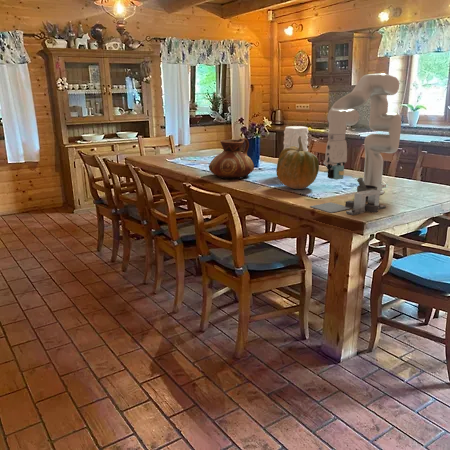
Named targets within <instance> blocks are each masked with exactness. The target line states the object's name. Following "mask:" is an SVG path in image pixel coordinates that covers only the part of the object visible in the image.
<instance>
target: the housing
mask: <svg viewBox="0 0 450 450" xmlns="http://www.w3.org/2000/svg"><path fill="white" fill-rule="evenodd" d="M380 195H381V194H380V191H379V190H374V189H372V190H366V191H361V192H357V191H356V192H354V197H353V198H354V199H353V201H354V209H349V210H345V214H346V213H347V215H350V216H356V215H359V214H364V212H365V213H366V211H365V204H366V202H367V204H370V205H375V206H378V210H382V209H385V208H386V205H383V204H380ZM366 196H368V201H366Z"/></svg>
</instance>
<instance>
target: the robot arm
mask: <svg viewBox="0 0 450 450" xmlns="http://www.w3.org/2000/svg"><path fill="white" fill-rule="evenodd" d="M399 89H400V81H399V79H398V78H397V77H396V76H393V75H390V74H387V73H369V74H364V75H363V76H361V77H360V79H359V80H358V81H357V83H356V85H355V86H354V88H353V89H352V91H351V92H349V93H347V94H345V95H343V96H342V97H340V98H338V99H337V100H336V101H334V103H333V105H332V106H331V107H330V109H329V110H328V113H327V122H328V136H327V139H328V141H327V142H326V147H325V154H324V155H325V156H324V161H323V162H322V163H323V165H324V166H325V168H326V169H327V178H328V179H330V178H333V177H334V170H333V167H334V165H342V166H344V167H345V164H346V163H347V162H348V145H347V144H348V142H347V140H346V130H347V126H349V127H350V126H354V125H356V124H357V123H358V122H359V120H360V114H359V111H358V110H357V109H355V108H359V107H361V106H364V105H365V104H366V103H367V101H368V100H369V101H370V110H369V111H370V113H369V120H368V121H369V122H368V124H369V129H370V130H371V131H373V132H384V133H385V134H384V133H371V134H368V135H367V136H366V137H365V138H364V142H363V143H364V166H363V167H364V169H363V182H364V184H365V185H372V186H376V187H377V190H379V191H380V195H382V194H384V193H385V191H384V190H383V188H386V187H387V183H382V180H383V173H384V171H383V170H384V169H383V168H384V157H383V156H382V154H381V153H383V154H384V153H385V154H395V153H396V152H397V151H398V149H399V146H400V140H401V131H402V117H401V115H400V114H398V113H396V112H389V111H388V107H389V101H388V99H387V97H386V96H394V95H396V94H397V93H398V91H399ZM387 132H388V134H386V133H387ZM330 165H331V166H330Z"/></svg>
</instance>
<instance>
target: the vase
mask: <svg viewBox="0 0 450 450" xmlns="http://www.w3.org/2000/svg"><path fill="white" fill-rule="evenodd" d="M309 132H310V131H309V127H308V126H300V125H298V126H297V125H293V126H292V125H291V126H289V125H288V126H285V128H284V130H283V134H284V135H283V142H282V143H283V149H282V150H284V149H285V148H288V147H291V146H295V147H297V148H299V143H298V138H299V136H301V142H302V146H303V150H304V151H308V152H309V148H308V145H309V141H308V139H309Z"/></svg>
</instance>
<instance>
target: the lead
mask: <svg viewBox="0 0 450 450" xmlns="http://www.w3.org/2000/svg"><path fill="white" fill-rule="evenodd" d="M344 206H347V207H351V208H352V210H354V200H346V201H345V205H344ZM365 212H367V213H368V212H369V213H372V212H373V214H375V213H377V212H379V209H378V206H375V205H370V204H368V203H365Z"/></svg>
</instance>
